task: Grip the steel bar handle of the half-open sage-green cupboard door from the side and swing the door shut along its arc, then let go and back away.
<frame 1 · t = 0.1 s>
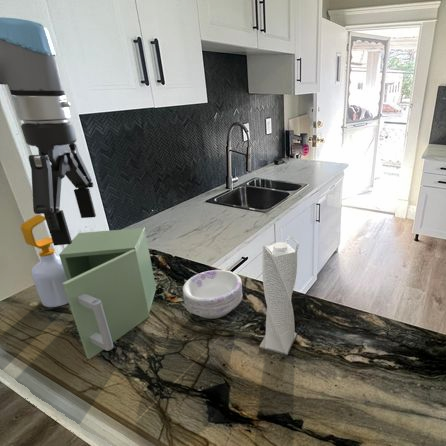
hand: (77, 229, 65), 28 cm above the counter, tool pointing down, fingers open, 13 cm apart
skyscraper: (280, 344, 75), on the counter
cupboard door: (120, 305, 71), point 10 cm above the counter, hinge at 50.0°
soap bottle: (62, 298, 89), on the counter
paper bowls: (215, 308, 86), on the counter
cupboard: (121, 304, 87), on the counter
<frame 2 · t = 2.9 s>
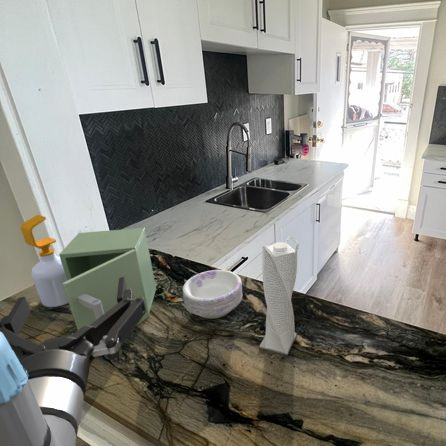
hand: (76, 293, 51), 24 cm above the counter, tool horizontal, fingers open, 13 cm apart
nothing on the counter moved.
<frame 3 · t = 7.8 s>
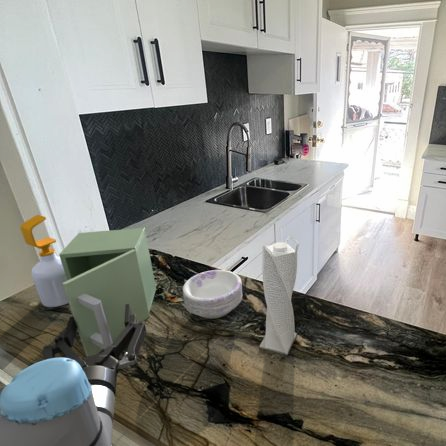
hand: (101, 315, 68), 10 cm above the counter, tool horizontal, fingers open, 10 cm apart
cupboard door: (120, 305, 71), point 10 cm above the counter, hinge at 49.9°, touching gripper
everything else where it was.
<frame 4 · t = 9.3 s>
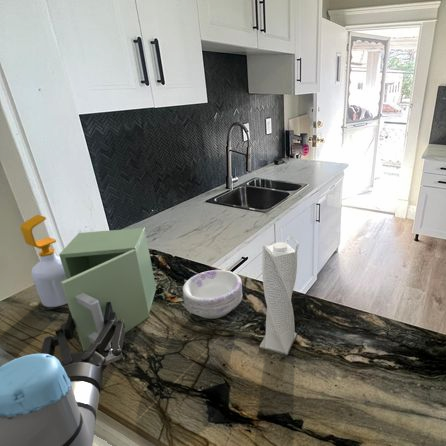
hand: (92, 310, 69), 10 cm above the counter, tool horizontal, fingers closed on cupboard door, 6 cm apart
cupboard door: (119, 305, 71), point 10 cm above the counter, hinge at 47.8°, touching gripper
everything else where it was.
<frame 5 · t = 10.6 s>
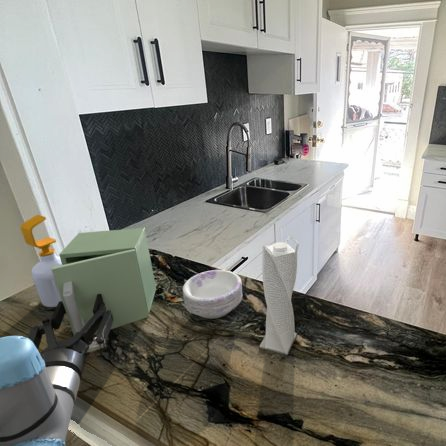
hand: (81, 302, 72), 10 cm above the counter, tool horizontal, fingers closed on cupboard door, 7 cm apart
cupboard door: (106, 301, 72), point 10 cm above the counter, hinge at 19.6°, touching gripper
everything else where it was.
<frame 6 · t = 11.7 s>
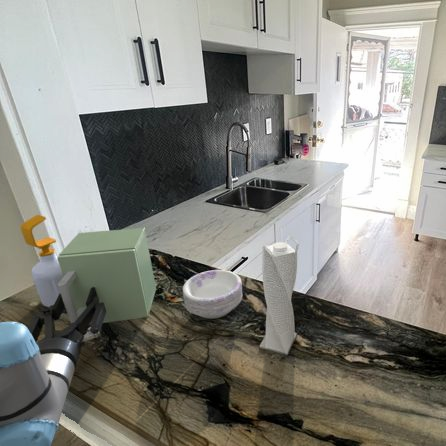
hand: (78, 295, 75), 10 cm above the counter, tool horizontal, fingers open, 6 cm apart
cupboard door: (102, 295, 74), point 10 cm above the counter, hinge at -0.4°, touching gripper
everything else where it was.
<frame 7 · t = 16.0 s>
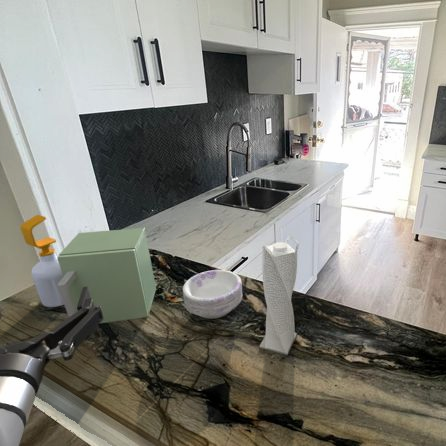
hand: (43, 300, 58), 19 cm above the counter, tool horizontal, fingers open, 13 cm apart
cupboard door: (102, 295, 74), point 10 cm above the counter, hinge at -0.4°
everything else where it was.
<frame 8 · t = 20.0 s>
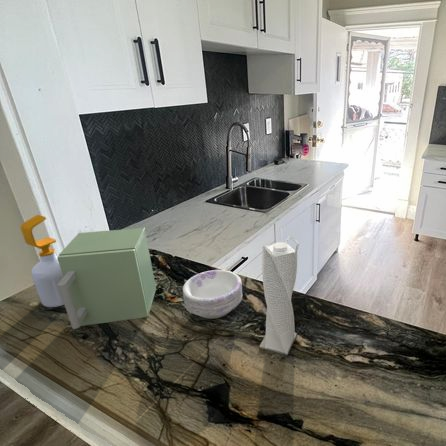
nothing on the counter moved.
at the end: cupboard door at +0° (first picture: +50°); the gripper is holding nothing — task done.
